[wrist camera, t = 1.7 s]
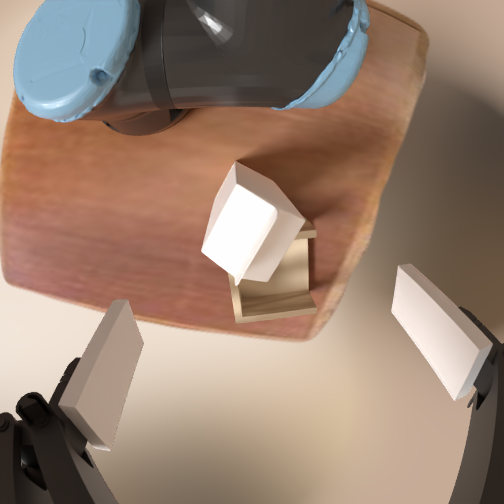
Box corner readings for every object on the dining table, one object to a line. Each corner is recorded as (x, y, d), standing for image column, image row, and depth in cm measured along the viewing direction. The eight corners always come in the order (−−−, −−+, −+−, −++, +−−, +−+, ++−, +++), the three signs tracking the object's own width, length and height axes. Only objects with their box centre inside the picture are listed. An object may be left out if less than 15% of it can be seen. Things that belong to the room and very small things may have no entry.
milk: (273, 180, 40) (320, 233, 19) (252, 218, 41) (274, 304, 21) (234, 160, 38) (238, 190, 18) (213, 199, 40) (196, 270, 20)
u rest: (224, 225, 41) (223, 240, 36) (305, 216, 42) (316, 229, 36) (235, 301, 46) (236, 323, 41) (307, 292, 47) (316, 313, 41)
